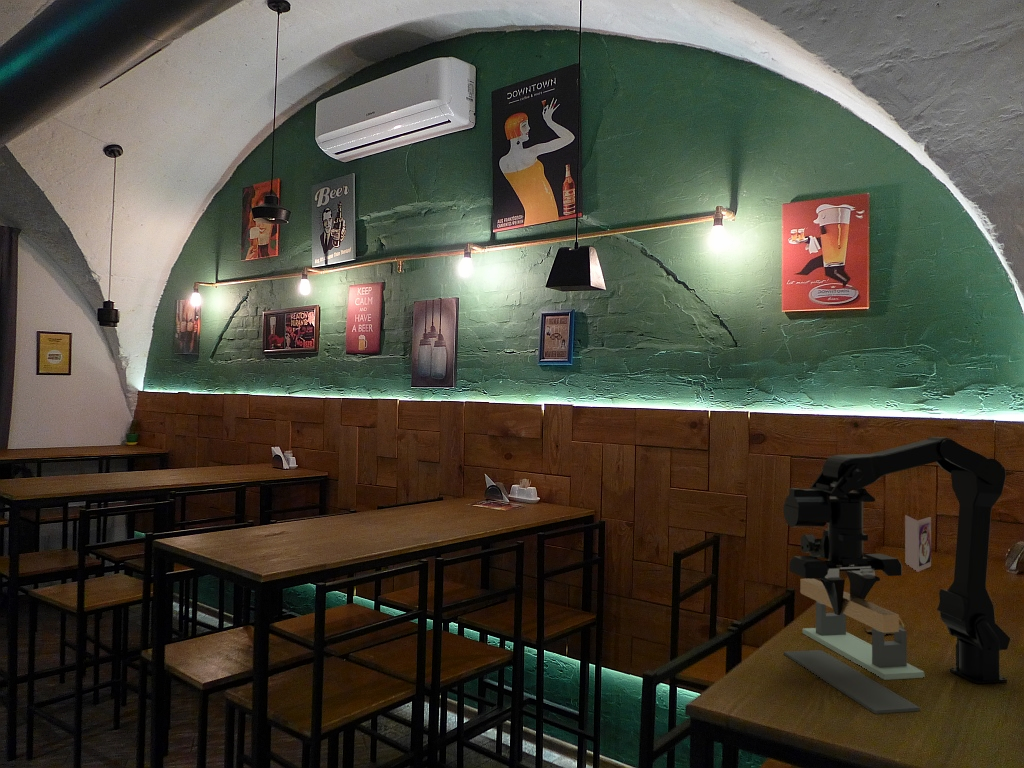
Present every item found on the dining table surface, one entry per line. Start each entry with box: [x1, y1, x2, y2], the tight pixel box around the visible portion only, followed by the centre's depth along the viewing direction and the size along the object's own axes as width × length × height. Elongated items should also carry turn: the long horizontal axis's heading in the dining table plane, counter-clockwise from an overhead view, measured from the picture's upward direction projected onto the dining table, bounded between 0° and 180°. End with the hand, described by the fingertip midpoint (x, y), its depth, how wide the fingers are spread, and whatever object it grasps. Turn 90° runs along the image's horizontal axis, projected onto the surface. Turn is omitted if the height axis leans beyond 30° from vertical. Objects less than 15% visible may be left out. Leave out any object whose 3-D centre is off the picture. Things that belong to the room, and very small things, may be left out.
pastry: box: [864, 617, 905, 636], centre depth 157 cm, size 9×7×4 cm
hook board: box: [802, 601, 925, 681], centre depth 142 cm, size 26×8×8 cm, turn 9°
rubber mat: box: [783, 649, 921, 715], centre depth 128 cm, size 27×8×1 cm, turn 9°
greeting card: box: [904, 514, 932, 573], centre depth 218 cm, size 11×7×15 cm, turn 132°
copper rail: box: [799, 578, 900, 633], centre depth 129 cm, size 24×3×3 cm, turn 9°
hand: (845, 614), depth 129 cm, fingers closed on copper rail, 3 cm apart
